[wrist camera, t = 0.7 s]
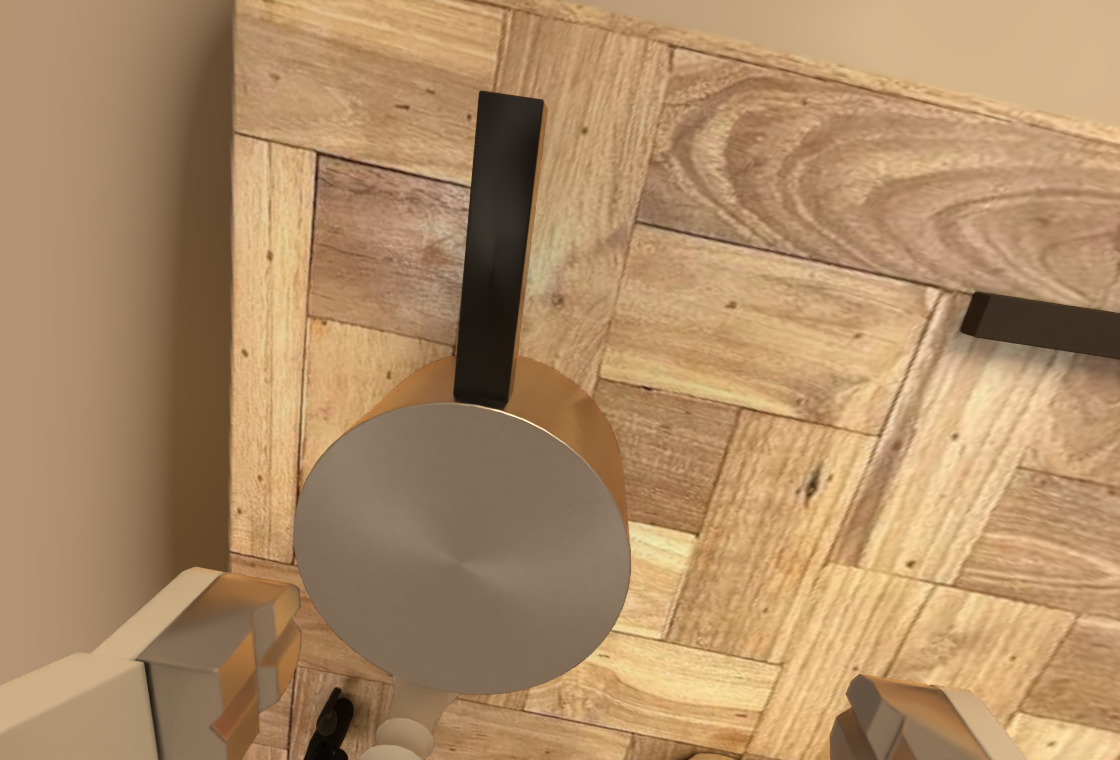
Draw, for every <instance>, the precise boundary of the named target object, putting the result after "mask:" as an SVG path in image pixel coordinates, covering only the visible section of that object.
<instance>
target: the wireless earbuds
mask: <svg viewBox="0 0 1120 760" xmlns="http://www.w3.org/2000/svg"><path fill="white" fill-rule="evenodd" d="M341 691H342V689H341V688H340V687H335V688H334V690H333V692H332V694H331V695H330V697H329V699H328V701H327V703H326V704H325V706H324V708H323V710H322V712H321V714H320V716H319V718H318V720H317V724H316V728H317V729H316V731H315V733H314V735H313V737H312V738H311V740H310V743H309V746H308V749H307V752H306V755H305V758H304V760H348V756H347V754H346V753H345V751H343V750H342V749H340V746H341V744H342V742H343V740H344V738H345V735H346V733H347V730H348V727H349V725H350V722H351V719H352V716H353V712H354V709H353V705H352V703H351V702H350V701H349V700H348V699H345V698H340V699H338V697H339V695H340V693H341Z"/></svg>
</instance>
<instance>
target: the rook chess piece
mask: <svg viewBox="0 0 1120 760" xmlns="http://www.w3.org/2000/svg"><path fill="white" fill-rule="evenodd" d="M392 678H393V689H394V694H393V697H392V701H391V705H390V709H389V713H388V716H387V719H386V721H385V722H384V723H382V724H381V725H380V726H379V727H378V729H377V732H376V742H377V744H376V745H374V746H373V747H371V748H370V749H368V750H367V751H366V752H364V753H363V754H362V755H361V757H360V759H359V760H425V758H426V757H428V756H429V755H430V754H431V752H432V750H433V748H434V740H433V734H434V731H435V728H436V725H437V723H438V721H439V719H440V717H441V715H442V713H443V711H444V709H445V708H446V707H447V706H448V705H449V704H451V703H452V702H453V700H454V698H456V697H457V696H458V695H460V694H457V693H448V692H443V691H439V690H434V689H429V688H426V687H423V686H419V685H416V684H413V683H410V682H407V681H405V680H403V679H401V678H398V677H396V676H394V675H392Z"/></svg>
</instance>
